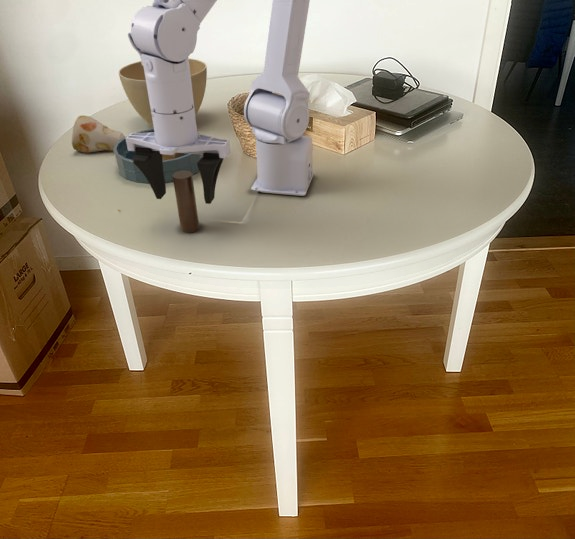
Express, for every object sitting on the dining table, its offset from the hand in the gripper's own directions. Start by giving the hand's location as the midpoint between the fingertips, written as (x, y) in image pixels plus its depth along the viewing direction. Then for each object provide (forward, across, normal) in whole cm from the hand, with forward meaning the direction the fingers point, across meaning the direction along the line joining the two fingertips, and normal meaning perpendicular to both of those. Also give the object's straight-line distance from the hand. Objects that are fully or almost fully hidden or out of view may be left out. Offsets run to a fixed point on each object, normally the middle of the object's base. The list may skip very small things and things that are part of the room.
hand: (185, 198), depth 78 cm
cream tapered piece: (+5, -28, +25) cm, 38 cm away
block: (+4, -12, +23) cm, 26 cm away
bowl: (+5, -13, +20) cm, 24 cm away
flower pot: (+5, -20, +41) cm, 46 cm away
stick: (+5, 0, 0) cm, 5 cm away
